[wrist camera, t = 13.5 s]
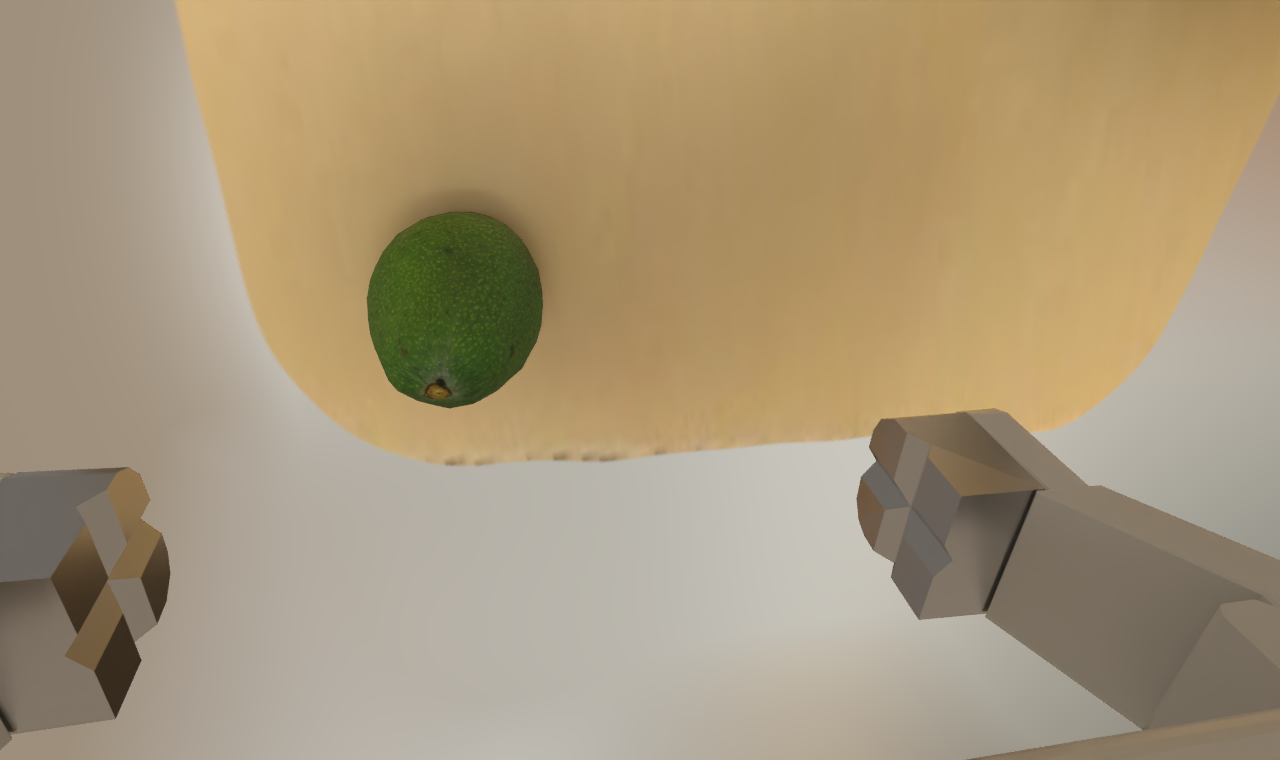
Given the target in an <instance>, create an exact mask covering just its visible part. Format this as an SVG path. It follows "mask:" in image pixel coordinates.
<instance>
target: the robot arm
mask: <svg viewBox="0 0 1280 760" xmlns="http://www.w3.org/2000/svg"><path fill="white" fill-rule="evenodd" d="M869 448H870V450H871V452H872V453H873V455H874V457H875V459H876V462H875V463H874V464H873V465H872V466H871V467H870V468H869V469H868V470H867V471H866V472H865V473H864V474H863V475H862V477H861V480H860V486H859V490H858V495H857V507H858V518H859V522H860V525H861V528H862V531H863V533H864V536H865V538H866V539H867V541H868V542H869V544H870V546H871V547H872V549H873V550H874V551H875V552H877V553H878V554H880V555H882V556H884V557H885V558H887V559H889V560H890V561H892V562H894V566H893V570H892V575H891V578H892V580H893V581H894V583H895V584H896V586H897V587H898V589H899V590H900V592H901V593H902V595H903V596H904V598H905V599H906V601H907V602H908V604H909V606H910V607H911V608H912V610H913V612H914V613H915V615H916V616H917V617H918V619H919V620H922V619H932V618H943V617H953V616H963V615H975V614H986V613H987V614H986V616H985V617H986V618H988V619H989V620H990V621H992V622H993V623H994V624H996V625H997V626H999V627H1000V628H1001V629H1003V630H1004V631H1006V632H1007V633H1008V634H1010V635H1011V636H1013V637H1014V638H1016V639H1017V640H1018V641H1020V642H1021V643H1022V644H1024V645H1025V646H1027V647H1028V648H1029V649H1031V650H1032V651H1034V652H1035V653H1036V654H1038V655H1039V656H1041V657H1042V658H1043V659H1045V660H1046V661H1048V662H1049V663H1050V664H1052V665H1053V666H1055V667H1056V668H1058V669H1059V670H1060V671H1061V672H1063V673H1064V674H1066V675H1067V676H1069V677H1070V678H1071V679H1073V680H1074V681H1075V682H1077V683H1078V684H1080V685H1081V686H1082V687H1084V688H1085V689H1087V690H1088V691H1090V692H1091V693H1092V694H1094V695H1095V696H1096V697H1098V698H1099V699H1101V700H1102V701H1103V702H1105V703H1106V704H1108V705H1109V706H1110V707H1112V708H1113V709H1115V710H1116V711H1117V712H1119V713H1120V714H1122V715H1123V716H1124V717H1126V718H1127V719H1129V720H1130V721H1131V722H1133V723H1134V724H1136V725H1137V726H1138V727H1140V728H1141V729H1142V731H1136V732H1130V733H1124V734H1118V735H1112V736H1106V737H1100V738H1093V739H1087V740H1081V741H1075V742H1069V743H1063V744H1057V745H1052V746H1045V747H1039V748H1033V749H1027V750H1021V751H1015V752H1009V753H1004V754H997V755H991V756H985V757H979V758H974V759H967V760H1280V560H1278V559H1275V558H1273V557H1271V556H1268V555H1266V554H1263V553H1261V552H1259V551H1256V550H1254V549H1252V548H1249V547H1247V546H1244V545H1242V544H1240V543H1237V542H1235V541H1232V540H1230V539H1228V538H1225V537H1223V536H1220V535H1218V534H1216V533H1213V532H1211V531H1208V530H1206V529H1203V528H1201V527H1198V526H1196V525H1194V524H1192V523H1189V522H1187V521H1184V520H1182V519H1180V518H1177V517H1175V516H1172V515H1170V514H1168V513H1165V512H1163V511H1160V510H1158V509H1156V508H1153V507H1151V506H1148V505H1146V504H1143V503H1141V502H1139V501H1136V500H1134V499H1131V498H1129V497H1127V496H1124V495H1122V494H1120V493H1117V492H1115V491H1112V490H1110V489H1108V488H1105V487H1103V486H1088V485H1087V484H1086V483H1085V482H1084V481H1082V480H1081V479H1080V478H1079V477H1078V476H1077V475H1076V474H1075V473H1074V472H1072V471H1071V470H1070V469H1069V468H1068V467H1067V466H1066V465H1065V464H1063V463H1062V462H1061V461H1060V460H1059V459H1058V458H1057V457H1056V456H1054V455H1053V454H1052V453H1051V452H1050V451H1049V450H1048V449H1047V448H1045V446H1043V445H1042V444H1041V443H1040V442H1039V441H1038V440H1037V439H1036V438H1035V437H1033V436H1032V435H1031V434H1030V433H1029V432H1028V431H1027V430H1026V429H1025V428H1023V427H1022V426H1021V425H1020V424H1019V423H1018V422H1017V421H1016V420H1014V419H1013V418H1012V417H1011V416H1010V415H1009V414H1008V413H1006V412H1003V411H1000V410H998V409H995V408H993V409H983V410H972V411H962V412H957V413H951V414H939V415H926V416H913V417H900V418H887V419H881V420H880V422H879V423H878V424H877V426H876V427H875V429H874V431H873V434H872V438H871V442H870V445H869ZM149 501H150V498H149V495H148V493H147V490H146V488H145V485H144V483H143V480H142V478H141V475H140V474H139V473H137V472H136V471H134V470H132V469H131V468H129V467H121V468H100V469H80V470H79V469H78V470H57V471H35V472H18V473H16V474H14V473H0V750H1V749H2V748H3V747H4V746H5V745H6V744H7V743H9V741H11V739H12V737H11V734H17V733H24V732H31V731H37V730H45V729H51V728H58V727H64V726H71V725H78V724H85V723H92V722H98V721H105V720H112V719H116V717H117V715H118V712H119V710H120V708H121V706H122V703H123V701H124V699H125V697H126V694H127V692H128V690H129V687H130V685H131V683H132V681H133V679H134V676H135V674H136V672H137V670H138V667H139V665H140V663H141V658H140V655H139V653H138V650H137V648H136V645H135V641H137V640H138V639H139V638H140V637H142V636H143V635H144V634H145V633H147V632H148V631H149V630H150V629H152V628H153V627H154V626H156V625H157V623H158V621H159V619H160V616H161V614H162V611H163V609H164V606H165V604H166V601H167V594H168V587H169V579H170V566H169V557H168V551H167V548H166V545H165V541H164V539H163V536H162V533H161V532H159V531H158V530H156V529H155V528H153V527H152V526H150V525H149V524H147V523H146V522H145V521H143V520H142V519H140V518H141V516H142V515H143V513H144V511H145V509H146V507H147V505H148V503H149Z"/></svg>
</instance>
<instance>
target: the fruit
mask: <svg viewBox="0 0 1280 760" xmlns="http://www.w3.org/2000/svg"><path fill="white" fill-rule="evenodd" d="M367 306H368V321H369V328H370V334H371V338H372V341H373V344H374V347H375V350H376V352H377V355H378V357H379V359H380V362H381V364H382V366H383V369H384V371H385V373H386V376H387V378H388V380H389V382H390V383H391V384H392V385H393V386H394V387H395V388H396V389H397V391H399V392H401V393H403V394H405V395H407V396H409V397H411V398H413V399H415V400H417V401H420V402H424V403H428V404H432V405H437V406H441V407H446V408H453V407H459V406H464V405H469V404H473V403H476V402H478V401H480V400H481V399H483V398H485V397H487V396H488V395H490V394H492V393H494V392H495V391H497V390H498V389H500V388H501V387H502V386H503V385H504V384H505V383H506V382H507V381H508V380H509V379H510V378H512V377H513V376H514V375H515V374H516V373H517V372H518V371H520V370H521V369H522V368H523V366H524V364H525V362H526V360H527V358H528V356H529V354H530V352H531V350H532V349H533V347H534V345H535V344H536V342H537V338H538V334H539V331H540V327H541V322H542V308H543V300H542V288H541V283H540V277H539V272H538V269H537V267H536V265H535V263H534V261H533V259H532V257H531V255H530V253H529V251H528V249H527V248H526V246H525V245H524V243H523V242H522V240H521V239H520V238H519V237H518V236H517V235H516V234H515V233H514V232H513V231H512V230H511V229H509V228H508V227H507V226H506V225H505V224H503V223H501V222H499V221H497V220H495V219H493V218H491V217H488V216H484V215H481V214H477V213H473V212H450V213H445V214H441V215H437V216H433V217H428V218H426V219H423V220H420V221H419V222H417V223H415V224H414V225H412V226H411V227H409V228H407V229H406V230H404V231H402V232H401V233H399V234H398V235H397V236H396V237H395V238H394V239H393V241H392V242H391V243H390V244H389V245H388V246H387V248H386V249H385V250H384V251H383V253H382V255H381V257H380V259H379V261H378V263H377V265H376V267H375V269H374V272H373V274H372V277H371V279H370V284H369V290H368V296H367Z"/></svg>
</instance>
